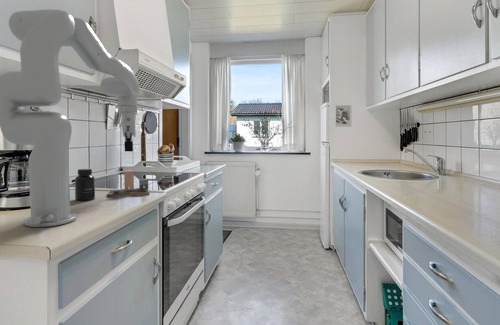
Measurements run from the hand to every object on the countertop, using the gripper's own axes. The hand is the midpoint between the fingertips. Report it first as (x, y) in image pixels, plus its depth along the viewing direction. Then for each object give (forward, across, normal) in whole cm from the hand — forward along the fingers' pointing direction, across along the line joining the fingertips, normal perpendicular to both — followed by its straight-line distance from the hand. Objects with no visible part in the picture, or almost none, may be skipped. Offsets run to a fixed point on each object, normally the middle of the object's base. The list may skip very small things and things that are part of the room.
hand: (128, 150), depth 128 cm
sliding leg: (+17, -2, 0) cm, 17 cm away
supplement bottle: (+19, -8, +16) cm, 26 cm away
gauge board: (+19, 0, 0) cm, 19 cm away
